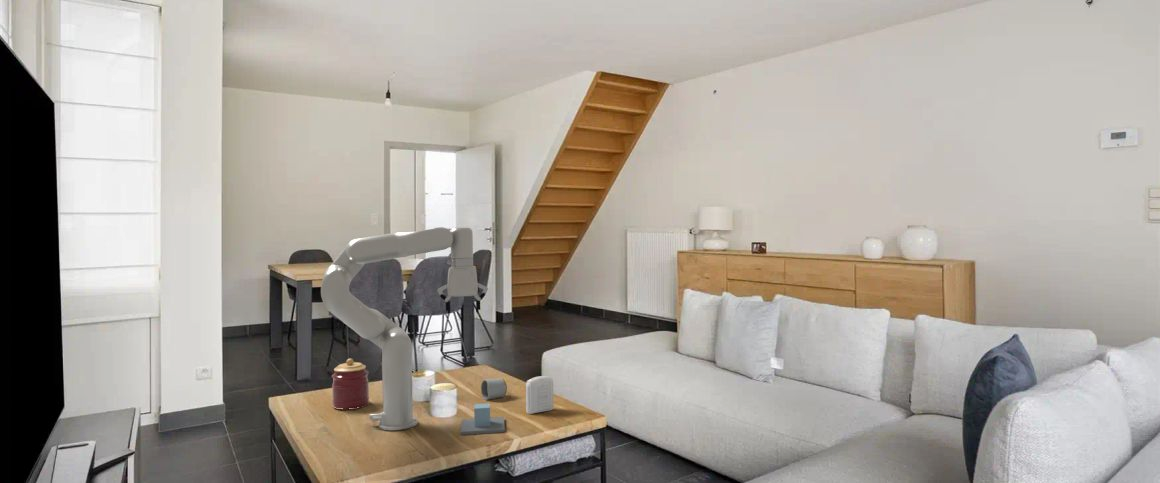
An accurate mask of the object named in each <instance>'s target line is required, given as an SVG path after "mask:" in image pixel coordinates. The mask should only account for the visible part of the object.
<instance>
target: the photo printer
mask: <svg viewBox="0 0 1160 483" xmlns="http://www.w3.org/2000/svg"><path fill="white" fill-rule="evenodd" d="M552 410H554V381H553V378H552V377H551V376H547V375H541V376H540V375H539V376H535V377H532V378H530V379H527V380H526V382H525V411H526V413H527V414H529V415H532V414H538V413H542V412H548V411H552Z"/></svg>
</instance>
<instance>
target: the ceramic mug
mask: <svg viewBox="0 0 1160 483" xmlns="http://www.w3.org/2000/svg"><path fill="white" fill-rule="evenodd" d="M480 391H481V392H480V393H481V396H482V398H483V399H484V400H485V401H488V400H493V399H501V398H503V397H505V396H506V394H507V393H508V385H507V382H506V380H505V379H504V378H498V377H497V378H488V379H487V378H484V379H483V380H482V381H481V384H480Z"/></svg>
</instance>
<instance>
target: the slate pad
mask: <svg viewBox="0 0 1160 483" xmlns="http://www.w3.org/2000/svg"><path fill="white" fill-rule="evenodd" d="M505 428H506V427H505V417H504V416H495V417H490V426H482V427H475V418H466V419H464V418H463V419H461V424H460V432H459V433H460V434H459V435H460V436H465V435H477V434H478V435H481V434H493V433H494V434H496V433H497V434H498V433H505V432H506V429H505Z"/></svg>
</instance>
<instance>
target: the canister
mask: <svg viewBox="0 0 1160 483" xmlns="http://www.w3.org/2000/svg"><path fill="white" fill-rule="evenodd" d="M366 368H367V366H366V365H365V364H363V363H362V362H356V361H354V359H353V358H348V359H346V362H344V363H340V364H338V365H337V366H336V367H334V369H333V370H334V373H333V374H332V375H331V378H332V379H333V380H332V381H333V382H332V384H331V386H332V401H331V402H332V404H331V405H332V406H334V407H336V408H343V409H349V408H357V407H361V408H363V407H362V406H364V407H366V406H368V405H369V404H368V403H369V402H370V396H369V392H370V391H369V380H368V375H369V373H370V372H369V371H368V370H366ZM367 404H368V405H367ZM365 405H366V406H365ZM334 407H333V408H334ZM357 409H358V408H357Z"/></svg>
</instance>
